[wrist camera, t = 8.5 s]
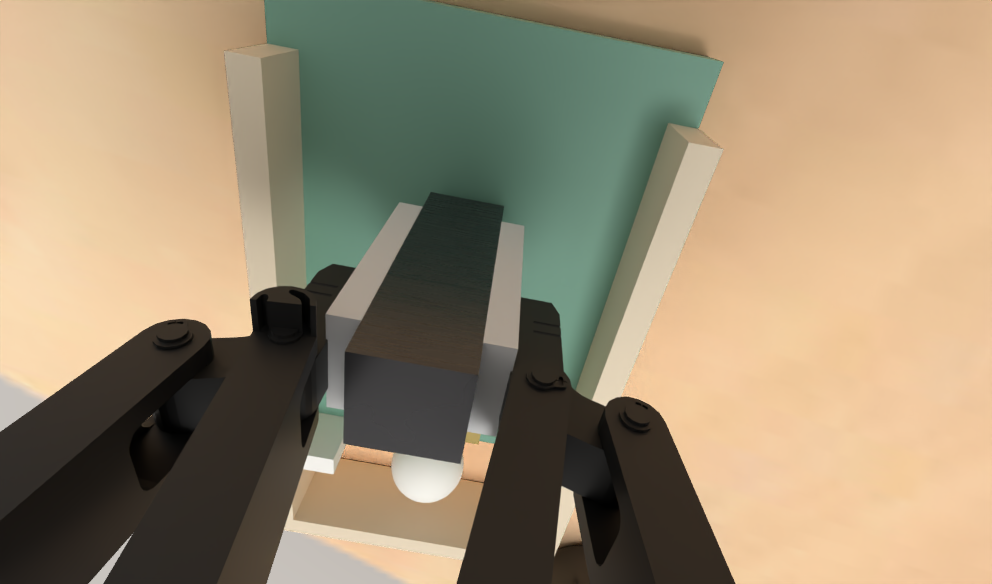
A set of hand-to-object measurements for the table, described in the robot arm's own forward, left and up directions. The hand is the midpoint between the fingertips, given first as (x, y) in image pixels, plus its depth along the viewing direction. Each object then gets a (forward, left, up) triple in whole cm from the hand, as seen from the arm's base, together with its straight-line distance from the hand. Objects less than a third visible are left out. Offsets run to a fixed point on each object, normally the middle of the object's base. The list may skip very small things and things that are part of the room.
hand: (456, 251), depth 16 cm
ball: (+13, 0, -2) cm, 13 cm away
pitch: (+5, 0, -4) cm, 6 cm away
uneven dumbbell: (+3, 0, -2) cm, 3 cm away
